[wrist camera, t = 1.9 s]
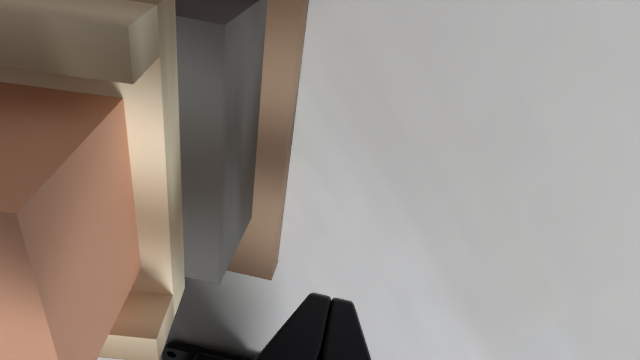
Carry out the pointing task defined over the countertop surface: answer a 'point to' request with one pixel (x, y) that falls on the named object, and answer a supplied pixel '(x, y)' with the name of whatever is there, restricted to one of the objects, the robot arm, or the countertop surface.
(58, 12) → the beam
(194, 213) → the stand
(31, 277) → the rider
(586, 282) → the countertop surface
